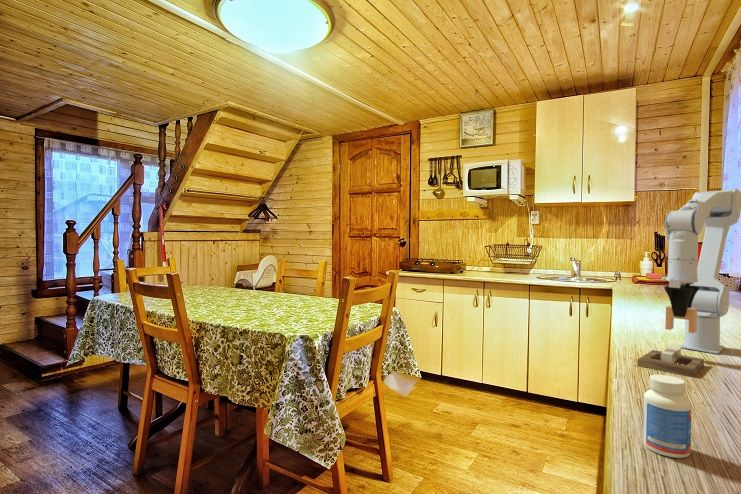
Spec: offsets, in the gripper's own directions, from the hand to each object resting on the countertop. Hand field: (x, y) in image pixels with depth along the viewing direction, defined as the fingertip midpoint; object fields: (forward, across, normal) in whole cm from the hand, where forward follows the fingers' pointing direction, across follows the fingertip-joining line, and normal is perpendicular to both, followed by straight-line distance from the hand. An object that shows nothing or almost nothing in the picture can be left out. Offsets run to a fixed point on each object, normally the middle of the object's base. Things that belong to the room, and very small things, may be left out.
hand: (681, 315), depth 101 cm
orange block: (+4, 0, 0) cm, 4 cm away
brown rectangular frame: (+10, +9, 0) cm, 14 cm away
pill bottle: (+11, +55, +10) cm, 57 cm away
